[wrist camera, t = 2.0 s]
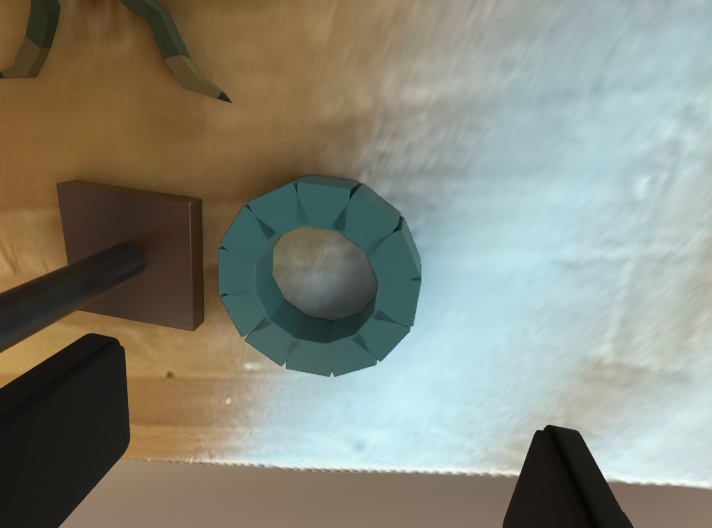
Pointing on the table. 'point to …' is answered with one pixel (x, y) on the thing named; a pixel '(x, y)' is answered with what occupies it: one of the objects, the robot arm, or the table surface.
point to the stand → (116, 263)
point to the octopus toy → (141, 4)
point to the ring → (285, 322)
